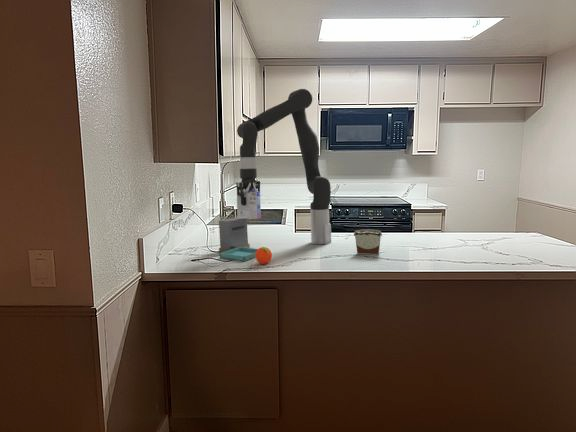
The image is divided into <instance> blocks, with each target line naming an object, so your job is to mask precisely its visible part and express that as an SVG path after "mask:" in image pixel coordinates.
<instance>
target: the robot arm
mask: <svg viewBox="0 0 576 432" xmlns="http://www.w3.org/2000/svg"><path fill="white" fill-rule="evenodd" d="M312 103H313V94H312V93H311V91H310V90H308V89H306V88H299V89H297V90H294V91H292V92H290V93H289V94H288V97H287V100H285V101H283V102H281V103H279V104H277V105H275V106H272V107H270V108H268V109H266V110H265V111H263V112H261V113H259V114H258V115H255V116H254V117H252V118H250V119H248V120H246V121H243V122H242V123H240V124H239V125H238V126H237V130H236V133H237V136H238V138H239V137H240V138H241V139H242V144H241V145H240V146H239V178H240V179H241V181H240V182H238V181H237V182H236V184H235V185H236V196H237V195H238V196H240V197H241V204H242V205H246V194H247V193H248V191H249V190H252V189H253V191H260V192H261V181H260V180H256V179H257V178H258V175H257V174H258V173H257V171H258V170H257V169H258V168H257V158H256V157H257V154H256V151H257V150H256V147H257V141H258V133H259V132H260V131H264V130H266V129H268V128H269V127H271V126H273V125H275V124H277V123H279V122H280V121H281V120H283V119H284V118H286V117H289V116H290V115H291V116H292V119H293V123H294V127H295V132H296V135H297V141H298V146H299V150H300V153H301V157H302V162H303V166H304V171H305V177H306V178H305V179H306V187H307V189H308V192H309V193H310V194H312V195H313V197H312V202H310V204H309V205H310V207H309V208H310V236H311V237H310V240H311V241H310V242H311V244H313V245H328V244H330V243H332V224H331V223H330V204H331V195H332V194H331V182H330V180H329V178H327V177H325V176H321V172H320V167H319V157H320V145H319V140H318V136H317V133H316V131H315V130H314V128H313V127H312V125H311V123H310V122H309V120H308V116H307V112H306V109H308V108H309V107H310V106H311V105H312ZM243 192H244V194H243Z"/></svg>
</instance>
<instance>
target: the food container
mask: <svg viewBox="0 0 576 432" xmlns="http://www.w3.org/2000/svg"><path fill="white" fill-rule="evenodd" d="M353 237H354V238H355V246H356V254H357V255H374V256H375V255H380V247H381V239H382V238H381V237H383V233H382V231H381V230H379V229H369V228H368V229H365V228H364V229H358V230H355V231H354V233H353Z"/></svg>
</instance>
